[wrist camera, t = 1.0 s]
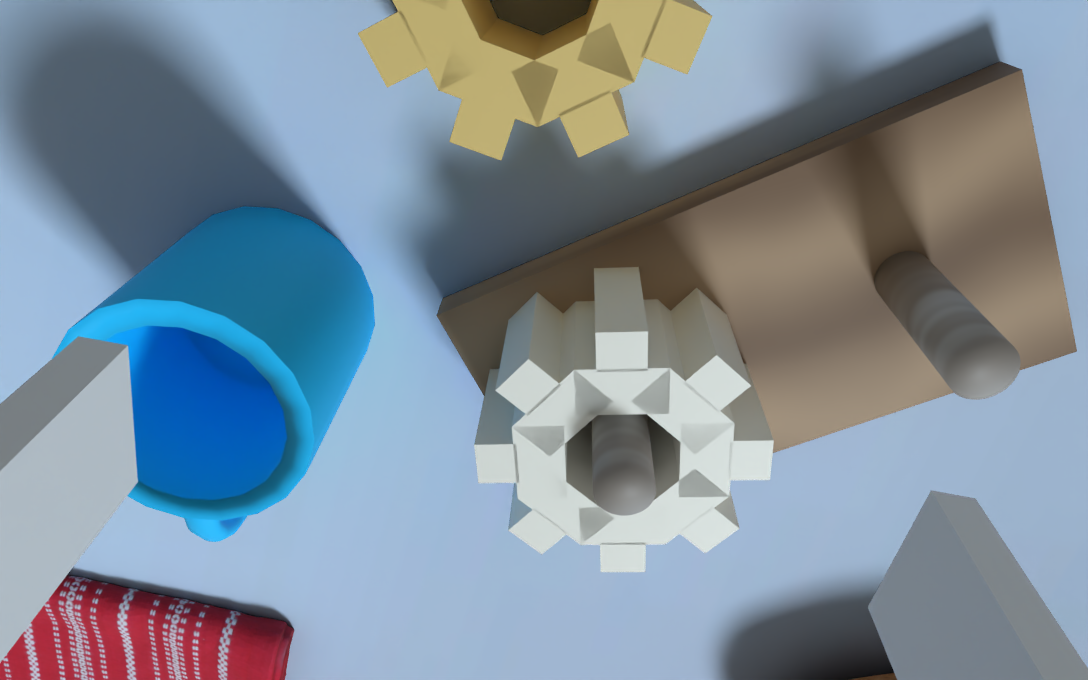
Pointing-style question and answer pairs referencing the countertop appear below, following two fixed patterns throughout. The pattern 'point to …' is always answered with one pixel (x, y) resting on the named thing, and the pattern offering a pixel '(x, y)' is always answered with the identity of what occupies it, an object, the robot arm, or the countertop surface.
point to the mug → (235, 361)
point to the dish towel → (143, 639)
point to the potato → (879, 677)
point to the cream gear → (619, 389)
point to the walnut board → (833, 273)
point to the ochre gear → (534, 63)
